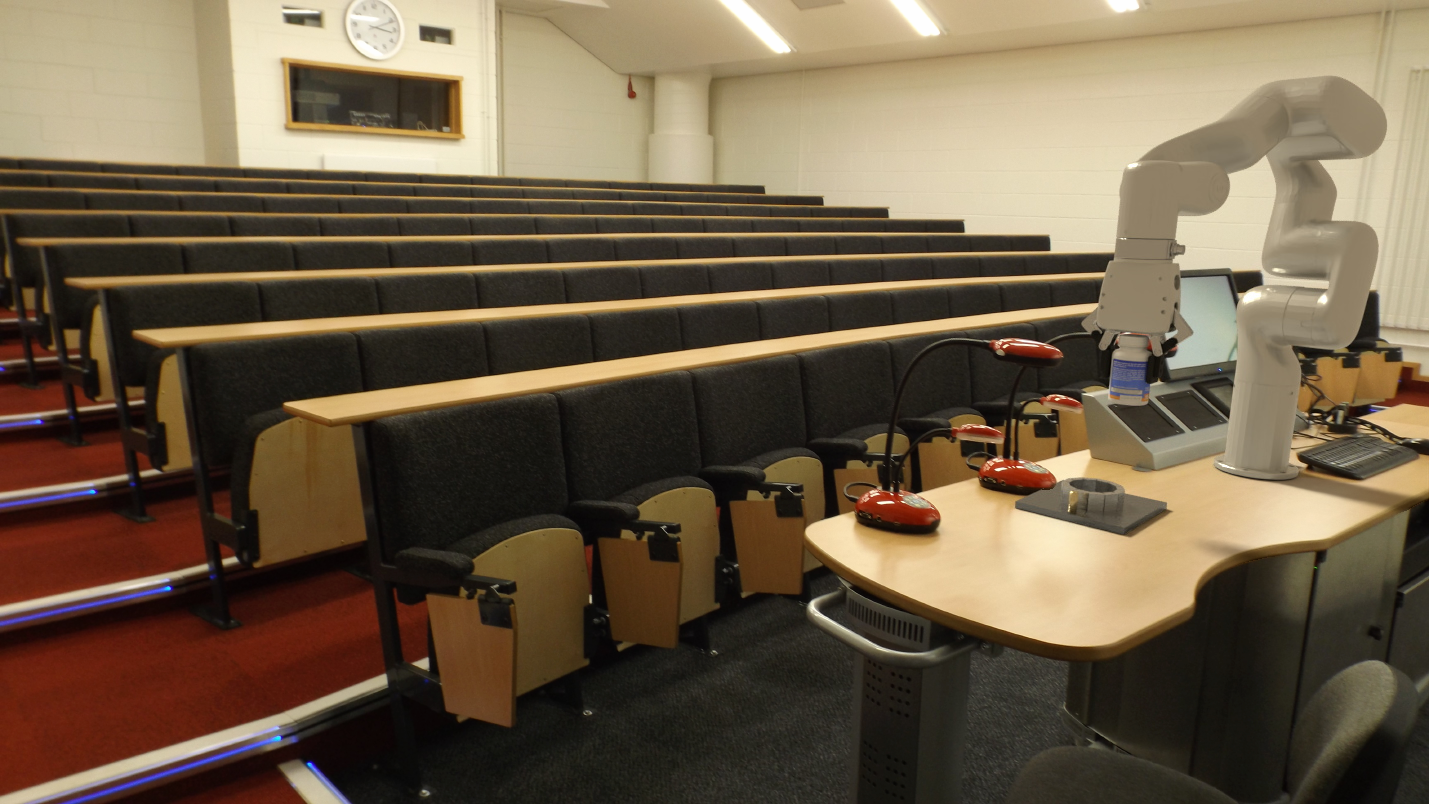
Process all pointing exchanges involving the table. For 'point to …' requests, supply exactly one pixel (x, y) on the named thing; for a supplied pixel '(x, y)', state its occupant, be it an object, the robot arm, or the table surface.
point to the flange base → (1094, 517)
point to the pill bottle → (1130, 371)
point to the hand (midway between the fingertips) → (1129, 378)
